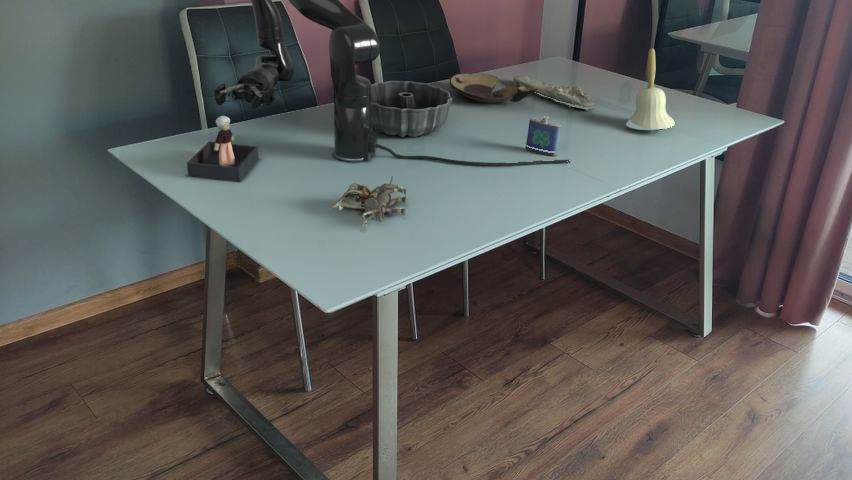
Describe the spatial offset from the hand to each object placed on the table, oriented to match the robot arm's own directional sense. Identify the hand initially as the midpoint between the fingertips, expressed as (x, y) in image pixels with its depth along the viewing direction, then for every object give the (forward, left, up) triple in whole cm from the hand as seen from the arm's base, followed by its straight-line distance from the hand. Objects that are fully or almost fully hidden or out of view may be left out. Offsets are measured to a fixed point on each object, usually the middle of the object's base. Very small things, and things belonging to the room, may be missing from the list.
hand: (235, 103), depth 188 cm
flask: (-78, -22, -13) cm, 82 cm away
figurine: (-38, +26, -13) cm, 48 cm away
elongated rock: (-82, -75, -13) cm, 112 cm away
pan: (0, +11, -13) cm, 17 cm away
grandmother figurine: (-1, +11, -12) cm, 16 cm away
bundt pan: (-38, -30, -13) cm, 50 cm away
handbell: (-113, -53, -13) cm, 125 cm away
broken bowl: (-61, -63, -13) cm, 89 cm away
